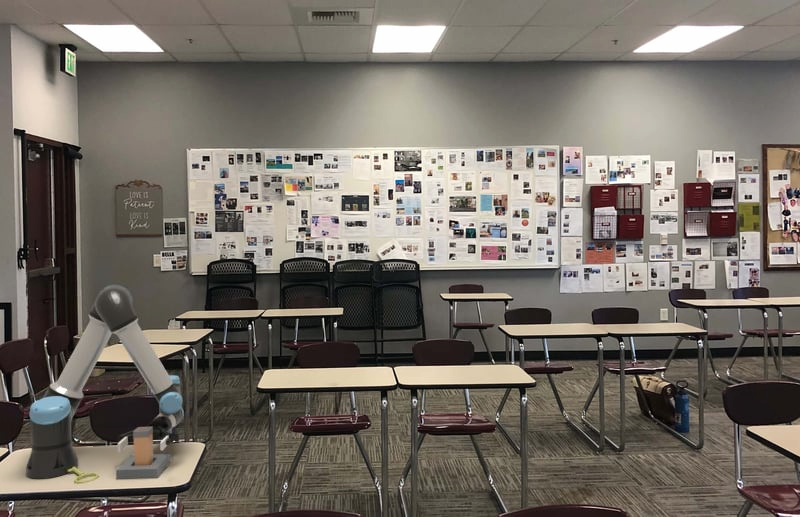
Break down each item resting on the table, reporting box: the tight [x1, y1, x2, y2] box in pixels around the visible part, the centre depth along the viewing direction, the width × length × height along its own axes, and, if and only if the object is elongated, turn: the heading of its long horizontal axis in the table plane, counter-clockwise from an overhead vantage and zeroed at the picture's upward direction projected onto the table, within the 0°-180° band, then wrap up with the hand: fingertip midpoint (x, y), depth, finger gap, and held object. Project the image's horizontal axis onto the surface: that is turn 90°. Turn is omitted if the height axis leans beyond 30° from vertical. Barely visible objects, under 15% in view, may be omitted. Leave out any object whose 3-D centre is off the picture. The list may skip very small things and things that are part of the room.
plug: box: [133, 426, 154, 466], centre depth 203 cm, size 5×5×14 cm
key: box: [67, 467, 100, 485], centre depth 198 cm, size 7×12×2 cm, turn 69°
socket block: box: [115, 453, 171, 480], centre depth 203 cm, size 13×13×3 cm
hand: (140, 447), depth 200 cm, fingers open, 13 cm apart
